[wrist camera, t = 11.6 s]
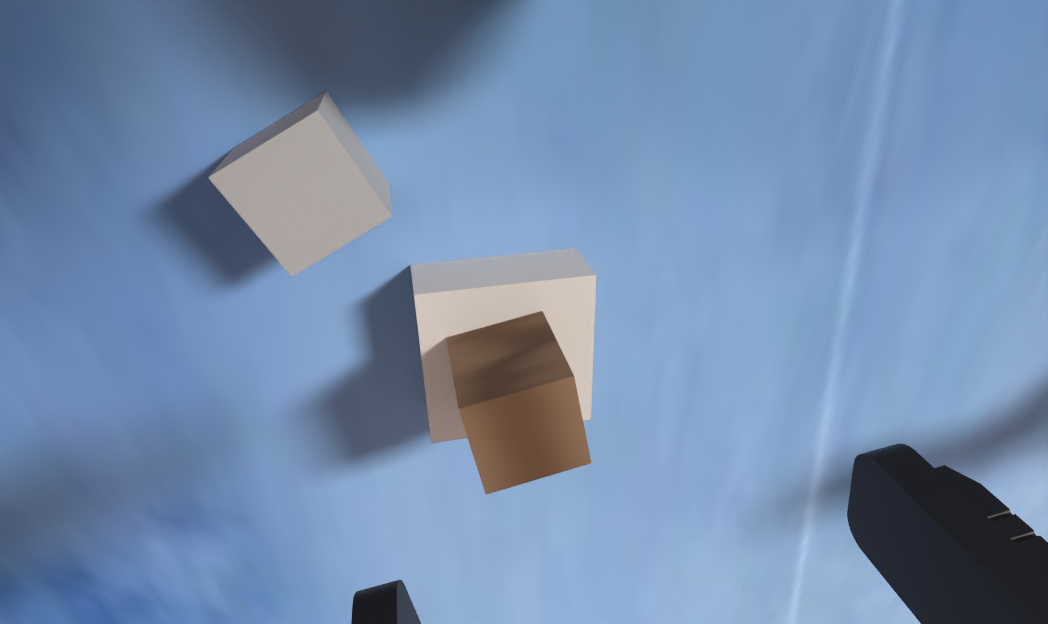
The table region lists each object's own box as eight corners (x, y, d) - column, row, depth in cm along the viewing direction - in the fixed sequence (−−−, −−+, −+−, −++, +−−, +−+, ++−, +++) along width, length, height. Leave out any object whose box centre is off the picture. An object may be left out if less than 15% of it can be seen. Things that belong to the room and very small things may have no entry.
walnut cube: (542, 310, 31) (574, 375, 26) (559, 389, 34) (591, 462, 29) (445, 337, 31) (458, 409, 26) (469, 415, 33) (485, 494, 28)
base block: (574, 245, 34) (596, 274, 31) (571, 380, 39) (590, 419, 35) (410, 261, 33) (413, 294, 29) (426, 400, 37) (431, 443, 34)
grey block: (326, 90, 28) (317, 110, 24) (389, 183, 31) (391, 216, 26) (233, 147, 28) (207, 177, 24) (303, 235, 31) (291, 276, 26)
